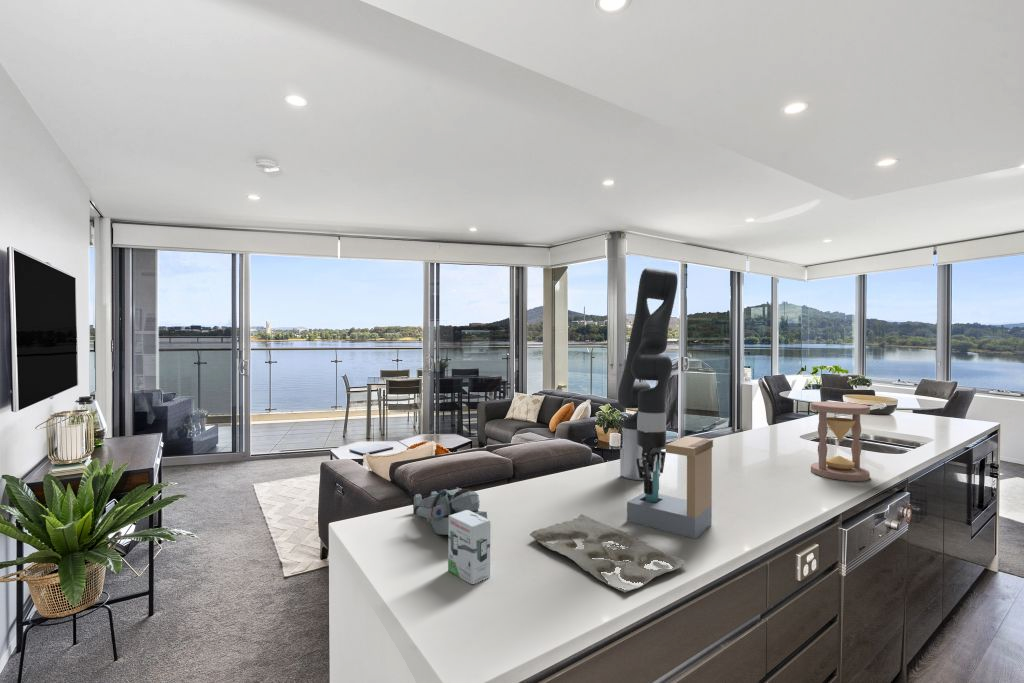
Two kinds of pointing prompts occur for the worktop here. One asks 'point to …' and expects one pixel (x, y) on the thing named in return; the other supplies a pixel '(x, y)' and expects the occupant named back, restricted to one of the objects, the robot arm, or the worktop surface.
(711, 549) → the worktop surface
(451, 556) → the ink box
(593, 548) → the stone relief
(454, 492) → the toy
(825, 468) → the hourglass
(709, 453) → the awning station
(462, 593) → the worktop surface
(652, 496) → the peg
